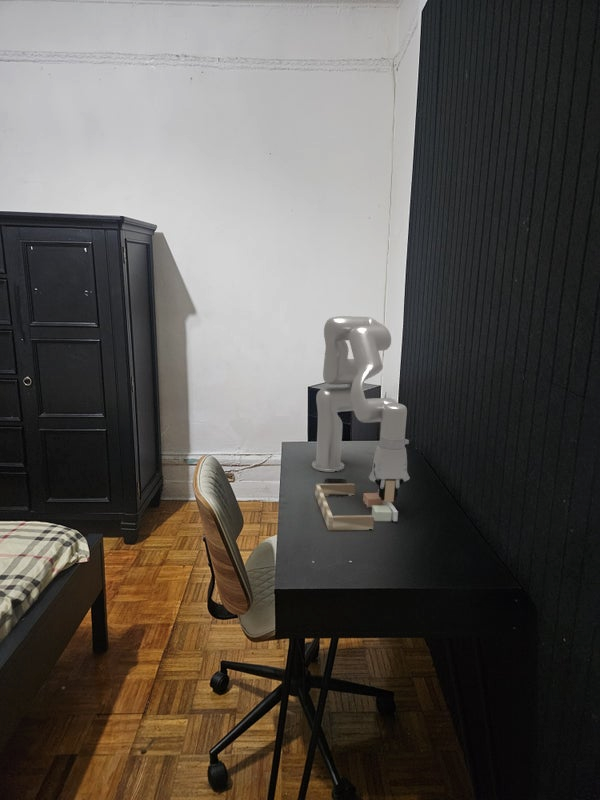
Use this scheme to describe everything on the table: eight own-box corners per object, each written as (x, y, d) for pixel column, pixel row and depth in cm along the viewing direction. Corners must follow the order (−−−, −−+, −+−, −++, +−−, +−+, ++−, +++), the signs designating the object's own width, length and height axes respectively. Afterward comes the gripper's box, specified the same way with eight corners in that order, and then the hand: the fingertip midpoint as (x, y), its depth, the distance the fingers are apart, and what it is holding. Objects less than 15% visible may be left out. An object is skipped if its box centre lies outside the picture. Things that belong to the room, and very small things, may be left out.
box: (315, 495, 180) (315, 483, 179) (353, 494, 182) (354, 483, 181) (328, 530, 155) (329, 517, 154) (373, 529, 156) (373, 516, 156)
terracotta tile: (362, 501, 177) (363, 493, 176) (377, 501, 178) (377, 492, 177) (367, 508, 172) (368, 499, 171) (382, 507, 173) (383, 498, 172)
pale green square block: (371, 514, 167) (372, 505, 166) (387, 514, 167) (388, 505, 167) (374, 521, 162) (375, 512, 162) (391, 521, 163) (391, 512, 162)
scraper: (374, 497, 179) (376, 469, 177) (383, 497, 179) (385, 469, 177) (390, 521, 161) (393, 490, 159) (400, 521, 162) (402, 490, 160)
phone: (345, 479, 194) (348, 495, 179) (345, 482, 194) (348, 498, 180) (324, 478, 194) (325, 494, 180) (324, 481, 194) (325, 497, 180)
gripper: (413, 439, 170) (408, 493, 174) (363, 439, 168) (359, 494, 172) (421, 446, 163) (416, 503, 167) (369, 446, 161) (365, 504, 165)
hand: (387, 498), depth 169 cm, fingers closed on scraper, 3 cm apart
